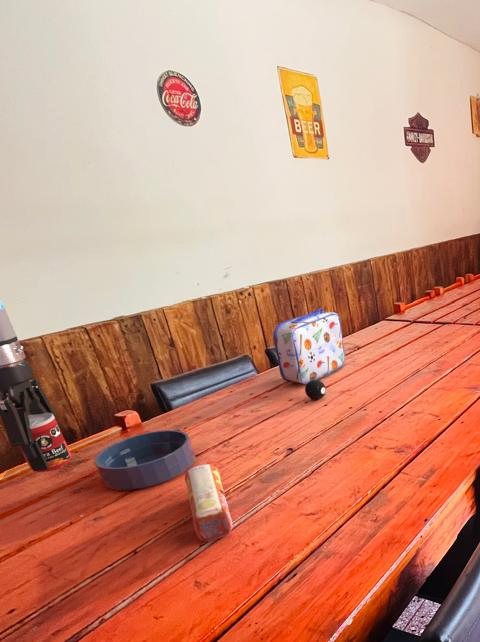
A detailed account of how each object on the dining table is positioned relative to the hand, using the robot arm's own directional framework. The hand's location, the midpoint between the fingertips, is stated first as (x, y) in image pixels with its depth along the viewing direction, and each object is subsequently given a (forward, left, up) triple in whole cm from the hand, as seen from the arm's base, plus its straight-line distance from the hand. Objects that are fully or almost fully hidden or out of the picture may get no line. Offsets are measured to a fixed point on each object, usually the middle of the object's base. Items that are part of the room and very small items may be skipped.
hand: (50, 460), depth 115 cm
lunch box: (+24, +76, -7) cm, 80 cm away
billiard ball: (+35, +55, -7) cm, 66 cm away
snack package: (+44, -5, -7) cm, 45 cm away
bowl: (+16, +9, -7) cm, 20 cm away
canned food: (0, 0, -1) cm, 1 cm away
